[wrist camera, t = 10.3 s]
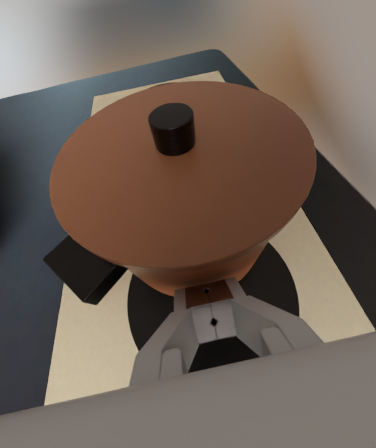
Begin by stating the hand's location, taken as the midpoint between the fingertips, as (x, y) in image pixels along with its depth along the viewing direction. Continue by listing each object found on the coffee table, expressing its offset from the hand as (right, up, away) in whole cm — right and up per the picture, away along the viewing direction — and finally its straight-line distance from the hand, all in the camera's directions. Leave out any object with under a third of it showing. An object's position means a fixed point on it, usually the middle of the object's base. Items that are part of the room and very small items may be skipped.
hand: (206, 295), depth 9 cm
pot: (-1, +3, +8) cm, 9 cm away
